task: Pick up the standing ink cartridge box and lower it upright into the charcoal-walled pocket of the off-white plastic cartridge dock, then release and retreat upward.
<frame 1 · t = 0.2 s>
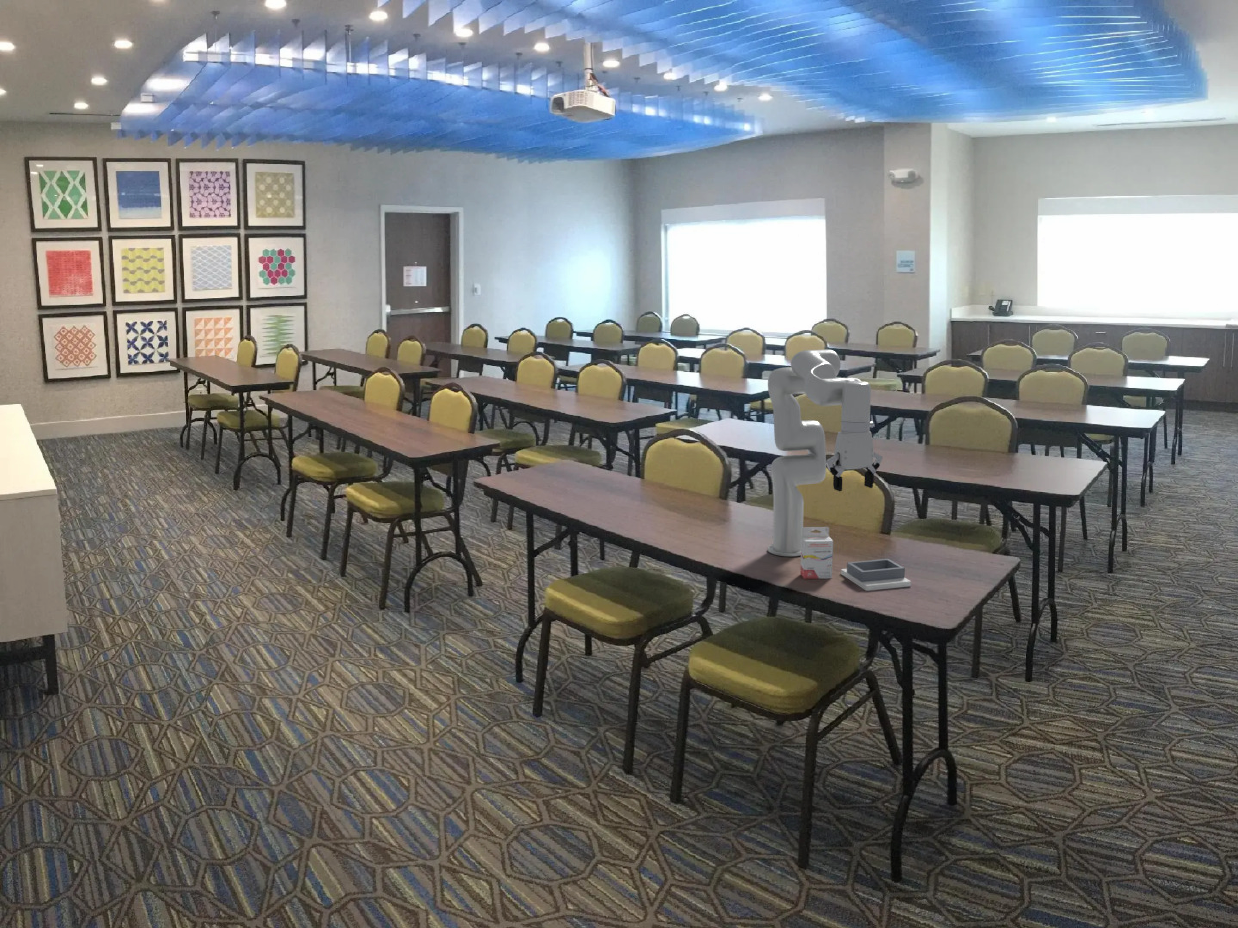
hand: (853, 488, 263), 31 cm above the table, tool pointing down, fingers open, 9 cm apart
ink cartridge box: (816, 577, 286), on the table
cartridge dock: (875, 579, 281), on the table
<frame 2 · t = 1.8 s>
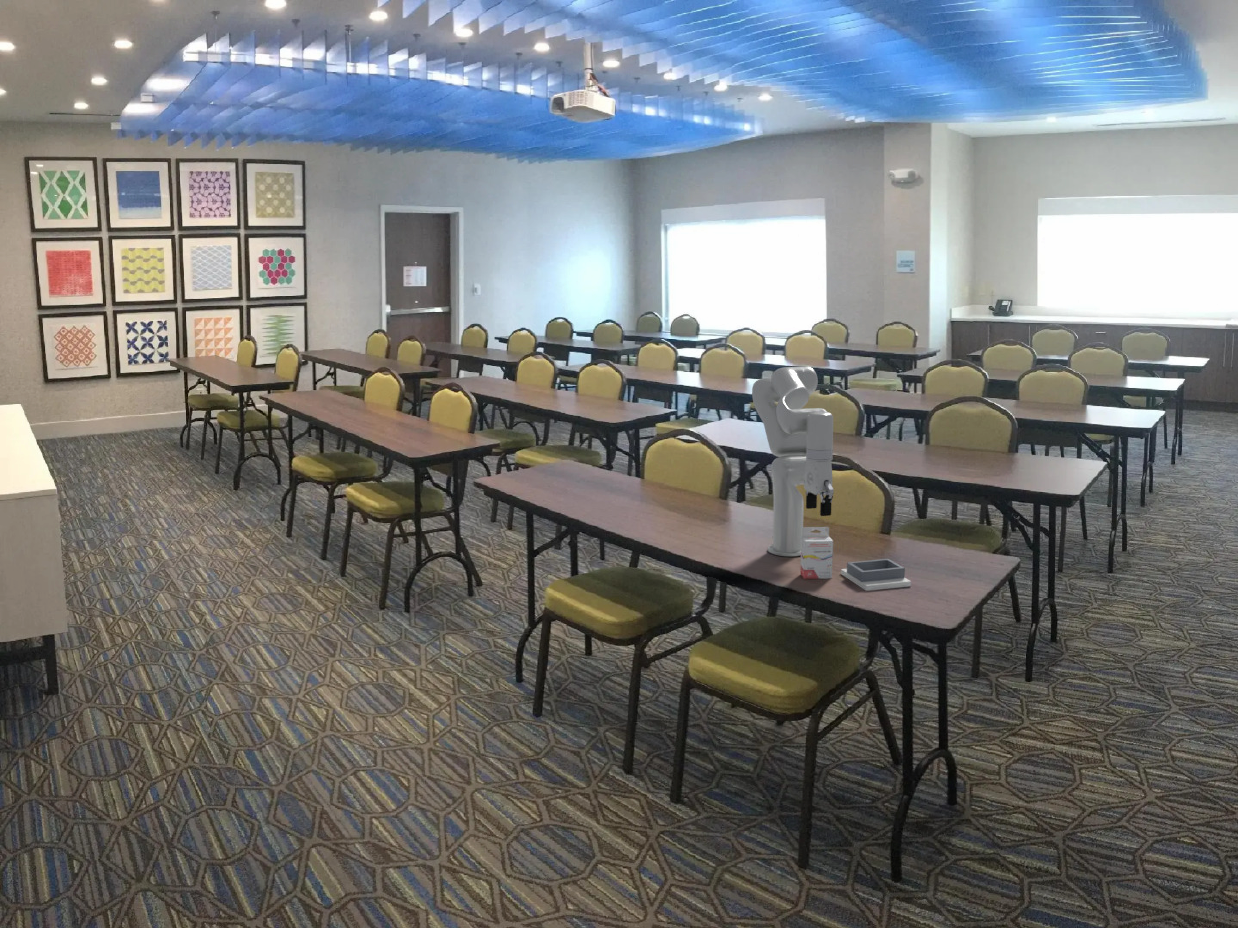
hand: (818, 511, 281), 20 cm above the table, tool pointing down, fingers open, 9 cm apart
nothing on the table moved.
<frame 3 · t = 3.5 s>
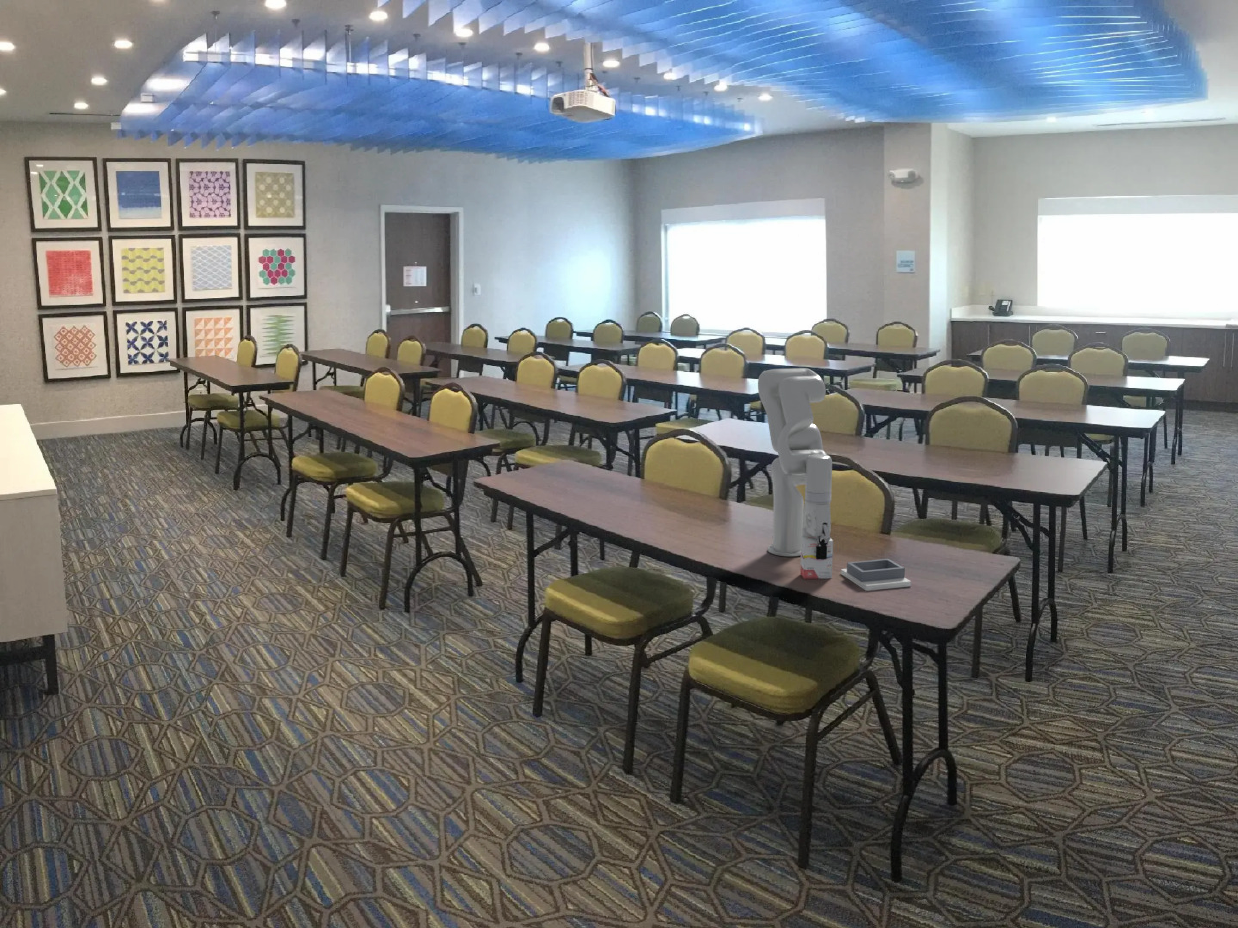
hand: (816, 555, 284), 7 cm above the table, tool pointing down, fingers closed on ink cartridge box, 5 cm apart
ink cartridge box: (816, 576, 286), on the table, touching gripper
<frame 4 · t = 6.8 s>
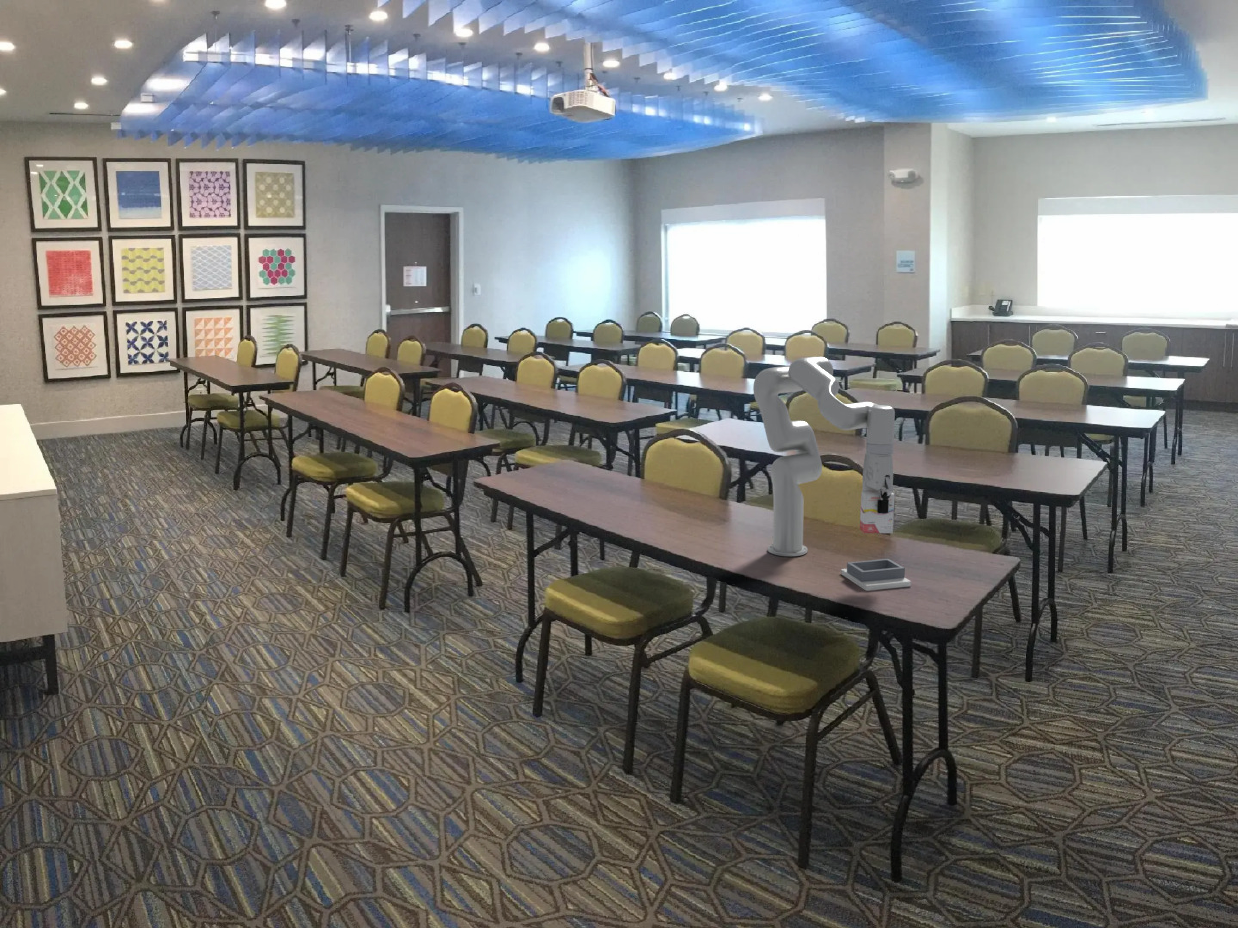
hand: (877, 509, 277), 21 cm above the table, tool pointing down, fingers closed on ink cartridge box, 5 cm apart
ink cartridge box: (876, 532, 279), point 15 cm above the table, touching gripper
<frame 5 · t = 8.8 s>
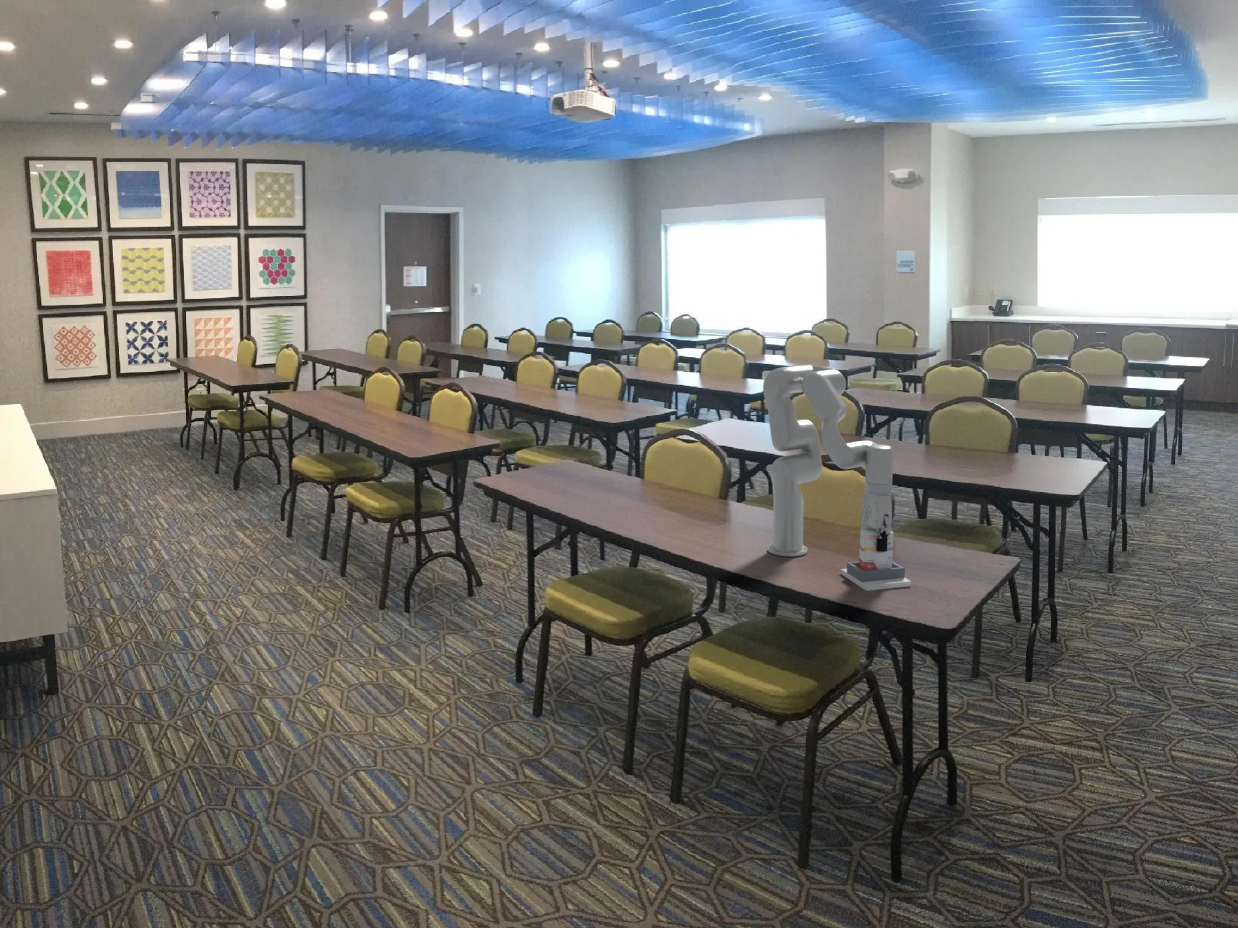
hand: (876, 547, 280), 10 cm above the table, tool pointing down, fingers closed on ink cartridge box, 5 cm apart
ink cartridge box: (875, 569, 281), point 3 cm above the table, touching gripper
when the fingers open (9 cm above the table, at t = 10.1 s): ink cartridge box drops 1 cm, resting on cartridge dock.
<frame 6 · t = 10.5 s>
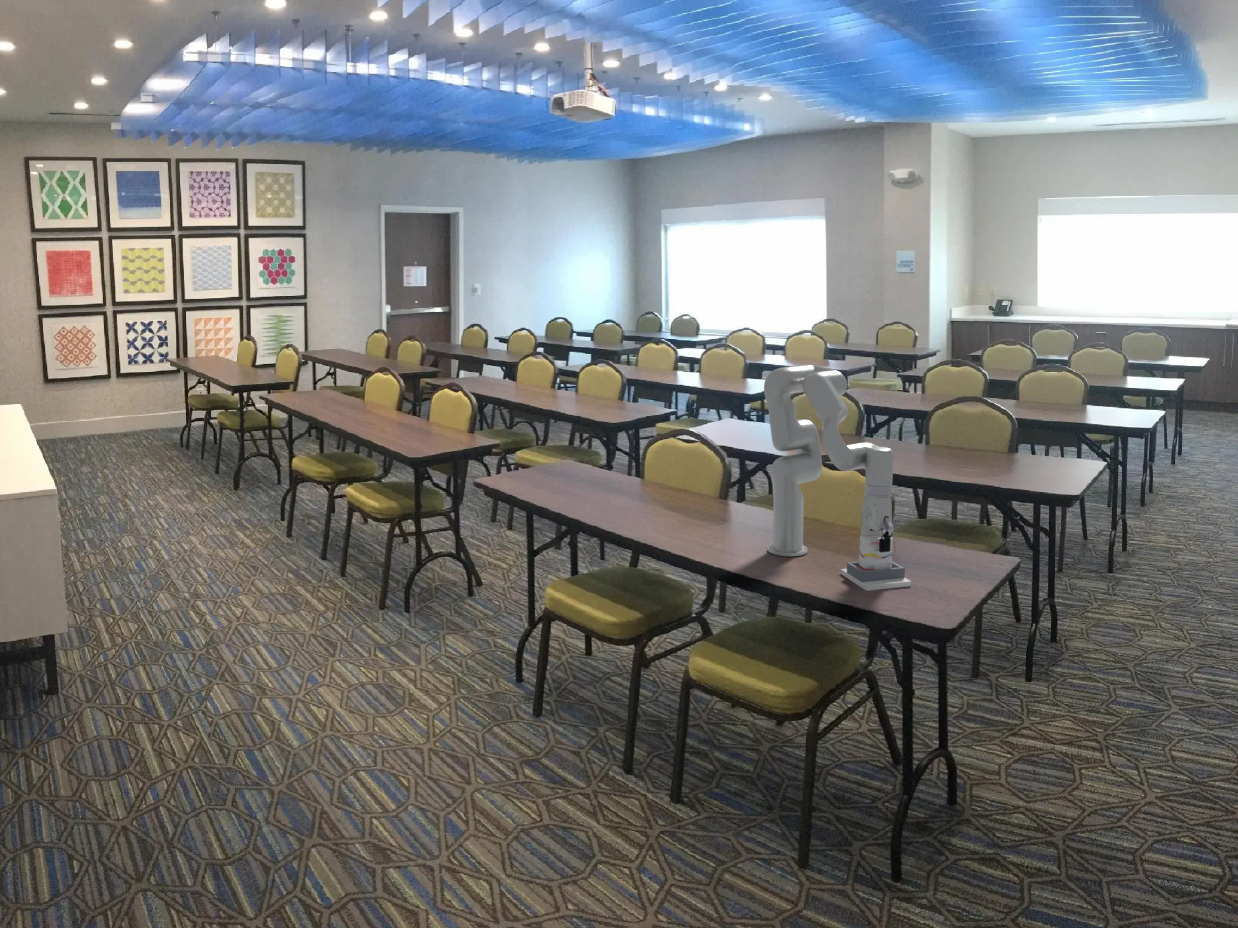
hand: (876, 547, 279), 10 cm above the table, tool pointing down, fingers open, 9 cm apart
ink cartridge box: (875, 575, 281), point 1 cm above the table, touching cartridge dock
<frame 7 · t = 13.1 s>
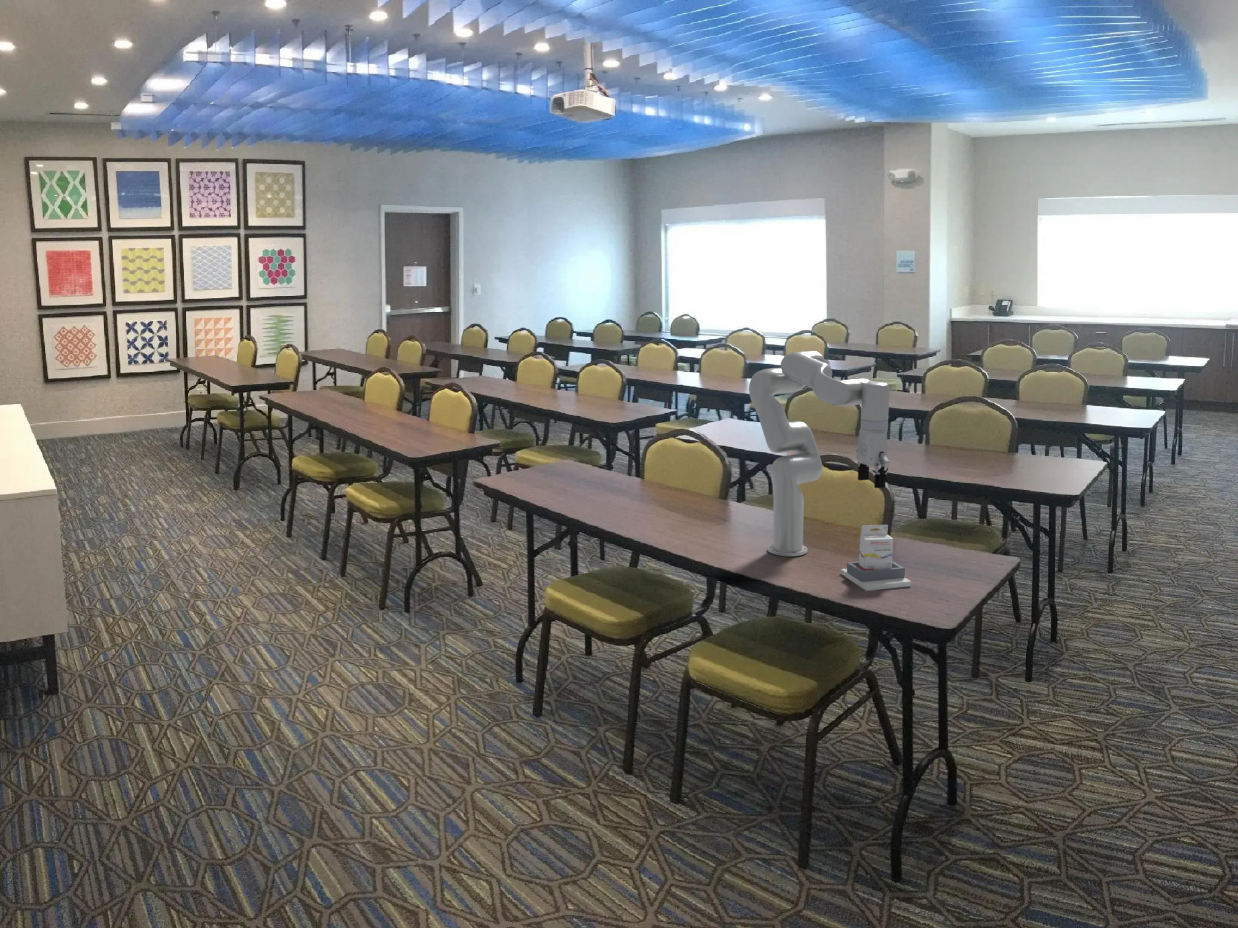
hand: (871, 483, 277), 29 cm above the table, tool pointing down, fingers open, 9 cm apart
nothing on the table moved.
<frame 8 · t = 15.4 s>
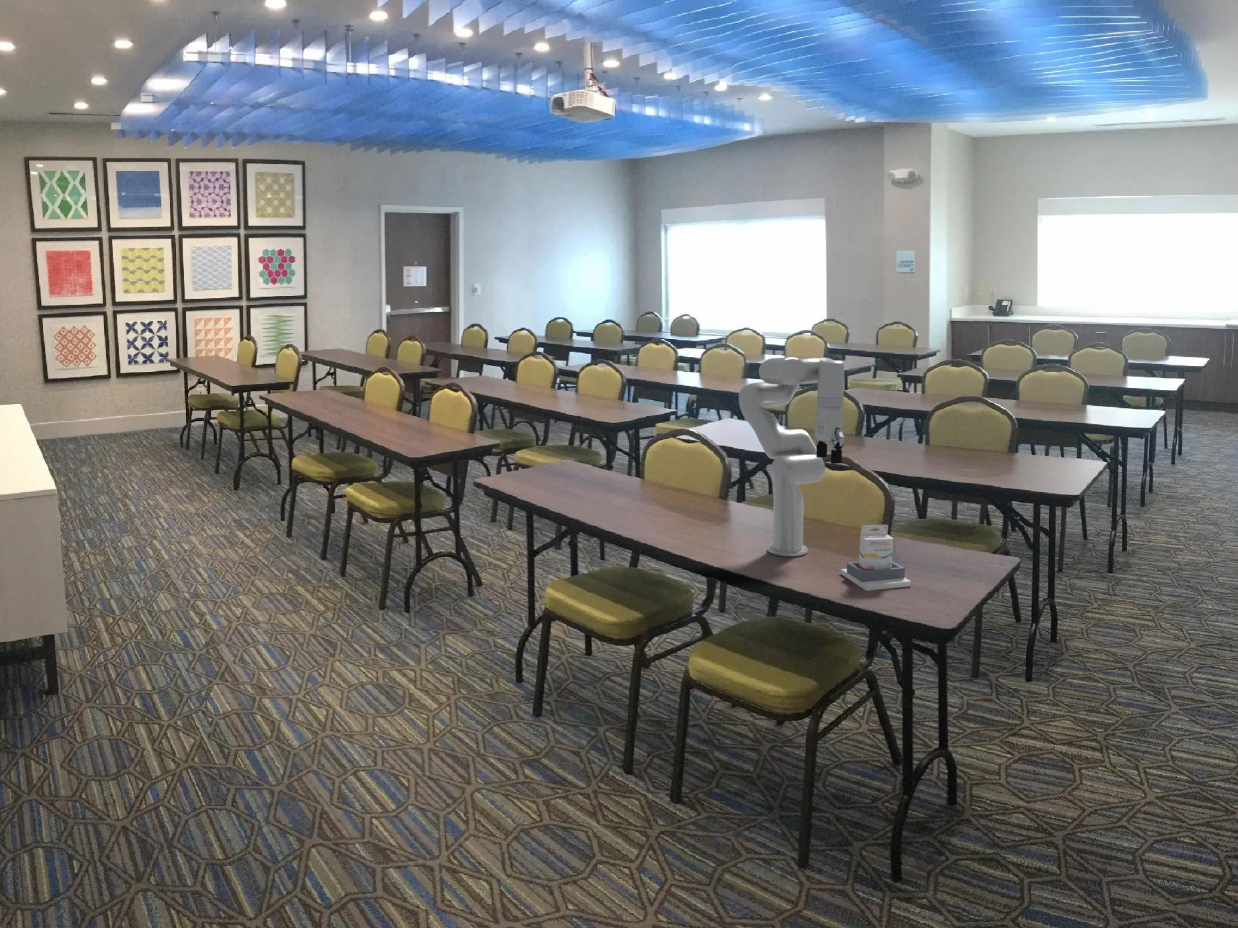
hand: (828, 460, 284), 34 cm above the table, tool pointing down, fingers open, 9 cm apart
nothing on the table moved.
at the end: ink cartridge box 0.1 cm off-centre on the cartridge dock, point 1.3 cm above the cartridge dock's base; ink cartridge box tilted 0°; the gripper is holding nothing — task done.
